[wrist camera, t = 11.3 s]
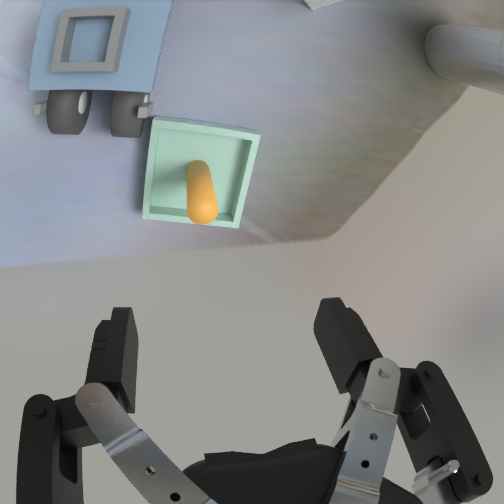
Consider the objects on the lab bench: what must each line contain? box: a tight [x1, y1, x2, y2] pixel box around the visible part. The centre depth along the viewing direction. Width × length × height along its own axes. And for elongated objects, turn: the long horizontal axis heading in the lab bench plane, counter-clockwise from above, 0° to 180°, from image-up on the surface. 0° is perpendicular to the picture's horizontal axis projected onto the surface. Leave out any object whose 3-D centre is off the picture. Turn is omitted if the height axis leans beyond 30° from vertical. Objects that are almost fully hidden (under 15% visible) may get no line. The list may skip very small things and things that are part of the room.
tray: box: [142, 116, 261, 228], centre depth 36 cm, size 12×12×3 cm
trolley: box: [28, 0, 174, 138], centre depth 22 cm, size 12×20×12 cm, turn 167°
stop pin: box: [186, 160, 219, 225], centre depth 32 cm, size 3×3×11 cm
